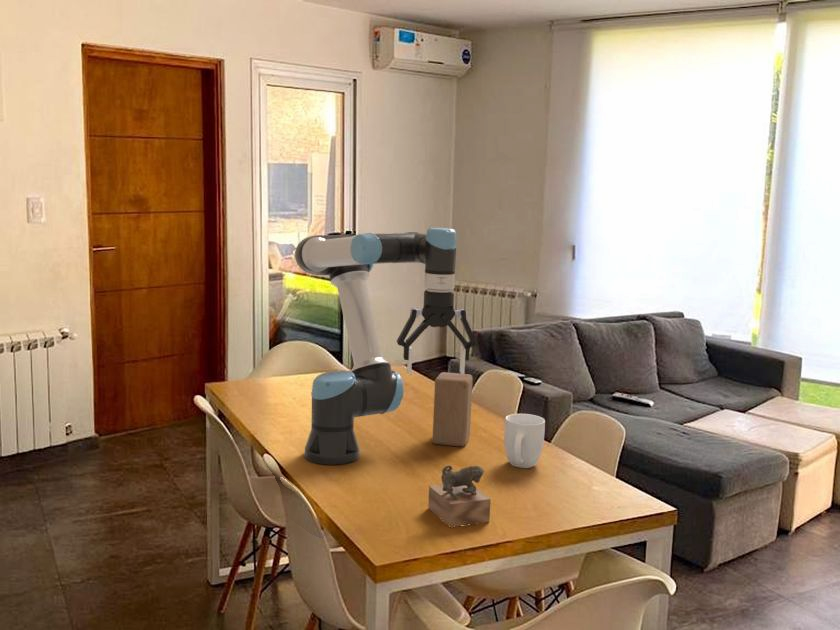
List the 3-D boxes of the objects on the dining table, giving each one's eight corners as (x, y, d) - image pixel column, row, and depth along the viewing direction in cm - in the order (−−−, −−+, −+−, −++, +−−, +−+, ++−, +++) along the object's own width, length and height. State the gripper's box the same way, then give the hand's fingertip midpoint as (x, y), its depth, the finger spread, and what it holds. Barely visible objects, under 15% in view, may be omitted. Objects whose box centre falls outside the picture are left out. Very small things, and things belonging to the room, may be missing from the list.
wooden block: (465, 448, 250) (468, 381, 247) (431, 444, 252) (434, 378, 249) (470, 438, 260) (473, 373, 257) (437, 434, 262) (440, 371, 259)
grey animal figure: (449, 501, 193) (450, 470, 192) (435, 493, 198) (436, 462, 197) (491, 492, 200) (492, 462, 199) (476, 484, 205) (477, 455, 204)
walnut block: (450, 529, 193) (451, 504, 192) (428, 509, 204) (429, 485, 203) (489, 523, 197) (490, 498, 196) (465, 504, 208) (466, 481, 207)
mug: (536, 478, 227) (539, 430, 225) (495, 472, 231) (498, 425, 229) (545, 461, 242) (548, 416, 239) (507, 455, 245) (509, 411, 243)
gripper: (391, 291, 209) (388, 375, 212) (491, 293, 212) (486, 376, 216) (388, 287, 216) (385, 369, 220) (484, 289, 220) (480, 369, 223)
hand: (435, 372), depth 218 cm, fingers open, 13 cm apart
